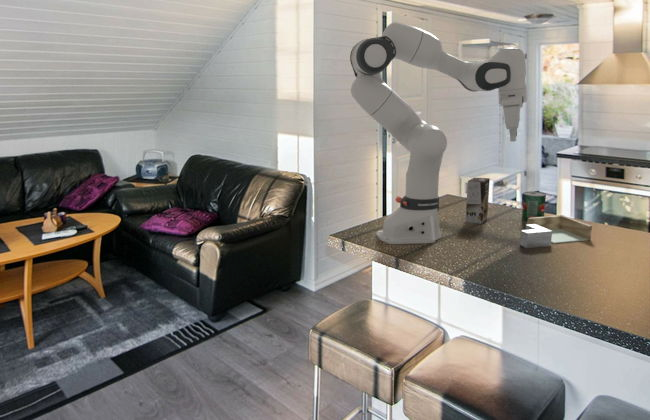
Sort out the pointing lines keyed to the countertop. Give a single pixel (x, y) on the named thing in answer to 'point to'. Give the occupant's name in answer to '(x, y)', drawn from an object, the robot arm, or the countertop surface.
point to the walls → (563, 225)
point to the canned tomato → (533, 205)
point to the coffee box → (477, 200)
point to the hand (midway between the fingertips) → (513, 138)
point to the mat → (564, 236)
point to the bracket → (535, 236)
